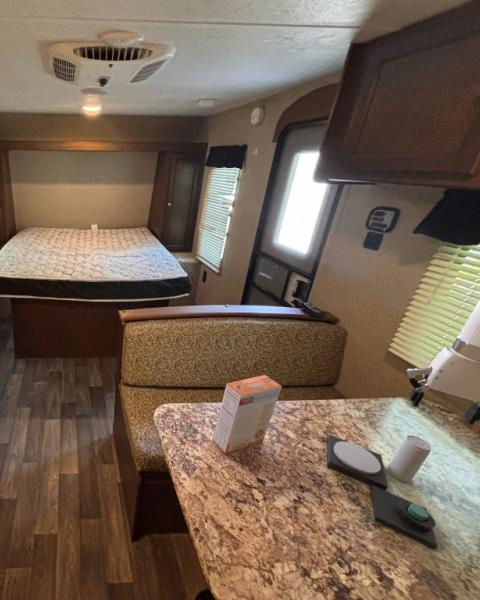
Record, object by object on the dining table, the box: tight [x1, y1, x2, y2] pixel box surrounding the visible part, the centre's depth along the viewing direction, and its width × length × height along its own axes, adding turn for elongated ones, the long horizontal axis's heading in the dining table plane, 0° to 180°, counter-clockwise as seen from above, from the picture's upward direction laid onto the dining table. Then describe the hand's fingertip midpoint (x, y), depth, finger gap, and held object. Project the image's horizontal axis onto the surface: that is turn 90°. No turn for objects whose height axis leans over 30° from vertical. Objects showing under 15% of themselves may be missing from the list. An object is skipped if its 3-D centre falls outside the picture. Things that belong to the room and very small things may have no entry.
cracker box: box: [212, 374, 283, 455], centre depth 89 cm, size 14×6×21 cm, turn 108°
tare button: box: [407, 503, 429, 521], centre depth 72 cm, size 3×3×2 cm
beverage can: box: [386, 434, 432, 483], centre depth 82 cm, size 5×5×12 cm
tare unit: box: [369, 485, 438, 550], centre depth 74 cm, size 10×10×3 cm
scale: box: [326, 434, 389, 491], centre depth 87 cm, size 12×12×3 cm
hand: (439, 411), depth 76 cm, fingers open, 9 cm apart
